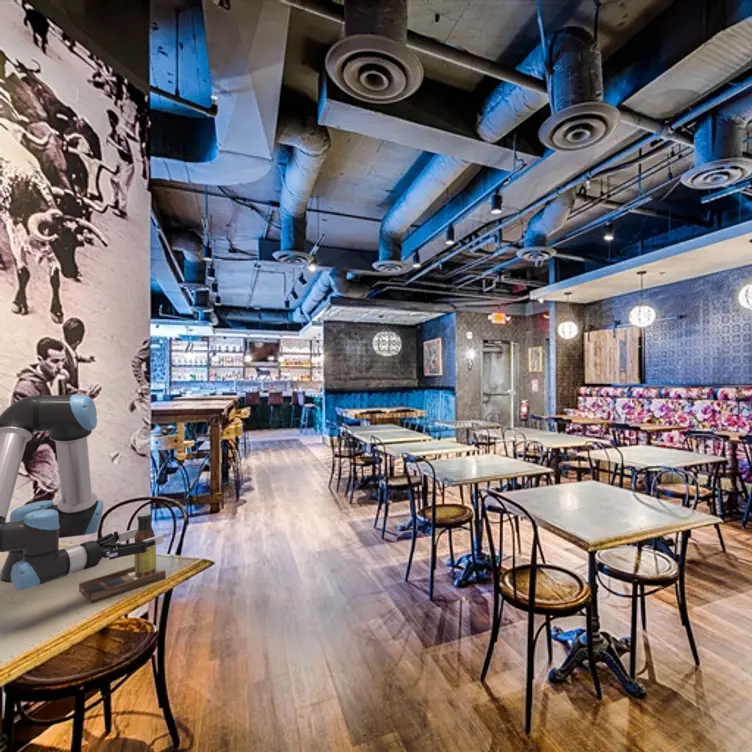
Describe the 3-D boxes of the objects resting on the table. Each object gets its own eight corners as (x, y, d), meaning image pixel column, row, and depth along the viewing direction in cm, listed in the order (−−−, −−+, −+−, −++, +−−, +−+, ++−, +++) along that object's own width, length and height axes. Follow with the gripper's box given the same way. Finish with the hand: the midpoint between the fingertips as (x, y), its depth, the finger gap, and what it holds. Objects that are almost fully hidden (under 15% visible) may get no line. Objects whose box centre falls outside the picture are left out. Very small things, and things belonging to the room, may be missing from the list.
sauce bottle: (160, 571, 140) (160, 512, 141) (145, 579, 134) (146, 517, 135) (144, 569, 142) (145, 511, 143) (129, 577, 136) (130, 516, 137)
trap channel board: (79, 591, 129) (79, 583, 129) (150, 568, 145) (150, 561, 145) (91, 603, 121) (91, 595, 121) (165, 578, 137) (165, 570, 137)
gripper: (59, 561, 127) (129, 540, 146) (103, 579, 115) (173, 553, 134) (60, 537, 128) (129, 518, 146) (103, 552, 115) (173, 529, 134)
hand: (150, 535), depth 140 cm, fingers open, 13 cm apart
